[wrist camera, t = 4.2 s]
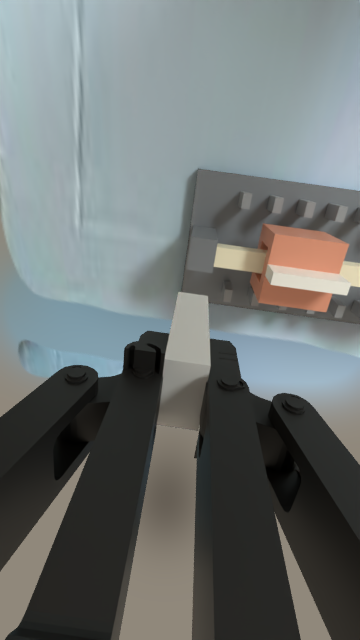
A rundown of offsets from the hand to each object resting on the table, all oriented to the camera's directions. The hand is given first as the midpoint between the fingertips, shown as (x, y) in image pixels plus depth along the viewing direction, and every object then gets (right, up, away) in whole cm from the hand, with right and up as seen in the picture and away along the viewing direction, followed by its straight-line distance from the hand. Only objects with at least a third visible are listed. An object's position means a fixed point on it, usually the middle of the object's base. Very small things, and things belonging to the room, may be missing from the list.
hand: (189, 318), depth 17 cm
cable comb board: (+14, +7, +20) cm, 26 cm away
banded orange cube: (+10, +6, +16) cm, 20 cm away
